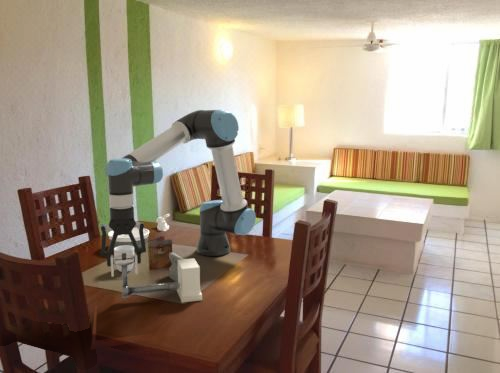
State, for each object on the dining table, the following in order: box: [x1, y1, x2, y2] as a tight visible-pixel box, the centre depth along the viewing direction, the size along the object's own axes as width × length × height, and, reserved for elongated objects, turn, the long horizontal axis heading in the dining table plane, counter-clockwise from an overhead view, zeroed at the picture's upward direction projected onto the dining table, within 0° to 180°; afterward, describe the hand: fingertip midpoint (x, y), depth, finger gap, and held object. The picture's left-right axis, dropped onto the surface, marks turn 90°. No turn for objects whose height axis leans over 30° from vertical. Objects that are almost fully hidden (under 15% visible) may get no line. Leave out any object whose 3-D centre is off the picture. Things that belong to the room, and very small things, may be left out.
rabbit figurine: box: [155, 213, 171, 232], centre depth 243 cm, size 12×8×10 cm, turn 24°
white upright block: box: [176, 257, 203, 304], centre depth 159 cm, size 7×12×11 cm, turn 18°
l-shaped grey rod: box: [113, 253, 180, 298], centre depth 154 cm, size 22×7×16 cm, turn 108°
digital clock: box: [168, 252, 184, 282], centre depth 175 cm, size 14×8×9 cm, turn 23°
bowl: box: [107, 226, 150, 251], centre depth 211 cm, size 19×19×8 cm
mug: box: [113, 245, 135, 273], centre depth 182 cm, size 11×8×9 cm
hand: (124, 273), depth 152 cm, fingers closed on l-shaped grey rod, 7 cm apart
